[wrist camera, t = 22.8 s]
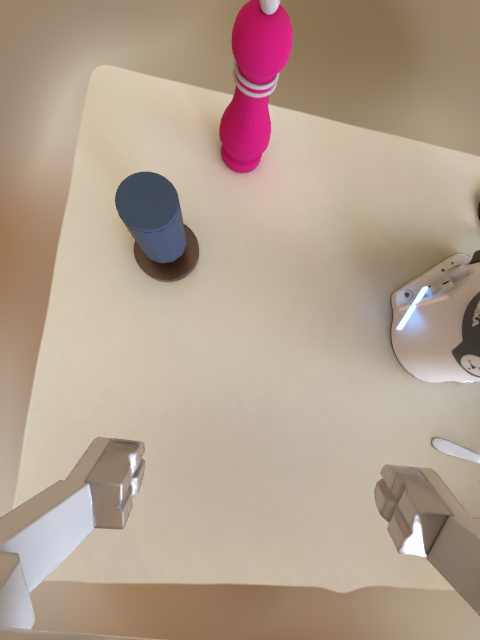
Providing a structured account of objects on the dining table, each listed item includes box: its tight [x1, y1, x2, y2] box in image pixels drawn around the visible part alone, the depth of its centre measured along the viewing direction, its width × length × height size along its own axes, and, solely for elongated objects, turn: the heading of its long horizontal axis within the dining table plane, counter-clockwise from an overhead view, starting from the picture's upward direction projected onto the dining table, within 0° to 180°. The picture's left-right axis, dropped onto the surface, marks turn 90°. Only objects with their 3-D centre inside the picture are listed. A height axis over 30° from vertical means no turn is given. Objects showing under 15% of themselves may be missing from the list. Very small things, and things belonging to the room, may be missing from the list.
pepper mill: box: [219, 0, 293, 173], centre depth 32 cm, size 7×7×20 cm
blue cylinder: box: [115, 172, 186, 263], centre depth 30 cm, size 6×6×10 cm
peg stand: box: [134, 224, 199, 282], centre depth 33 cm, size 9×9×14 cm
